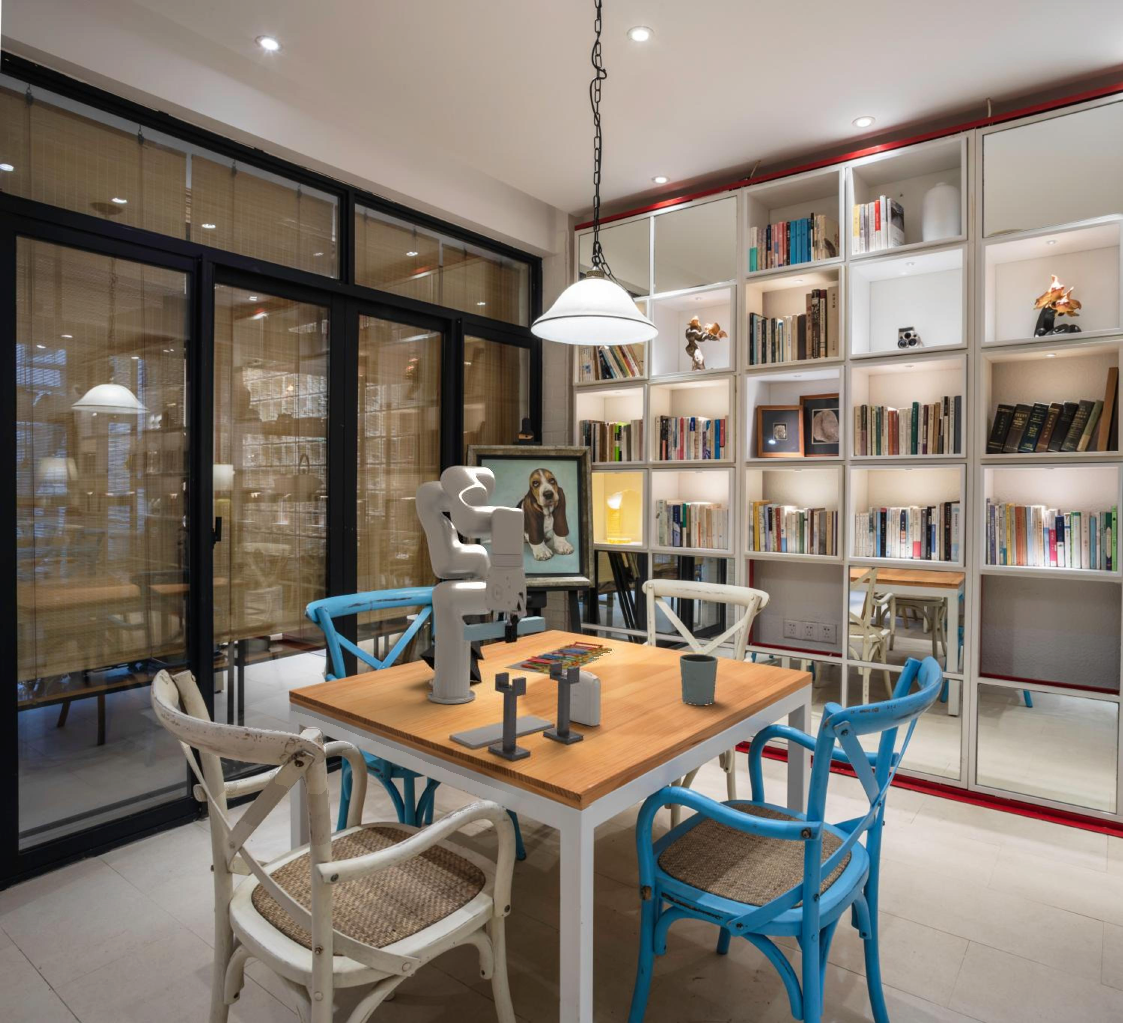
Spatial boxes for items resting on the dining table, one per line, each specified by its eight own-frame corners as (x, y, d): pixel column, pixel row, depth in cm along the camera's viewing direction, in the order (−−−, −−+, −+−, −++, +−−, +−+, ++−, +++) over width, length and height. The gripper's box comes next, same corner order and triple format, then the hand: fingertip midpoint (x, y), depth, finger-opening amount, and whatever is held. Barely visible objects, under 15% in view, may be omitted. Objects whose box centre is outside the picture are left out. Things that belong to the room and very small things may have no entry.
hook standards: (488, 751, 158) (489, 674, 158) (558, 731, 173) (560, 660, 173) (512, 761, 153) (513, 681, 152) (583, 739, 167) (585, 666, 167)
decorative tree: (478, 695, 215) (511, 590, 233) (458, 674, 204) (494, 565, 222) (434, 689, 220) (470, 586, 239) (412, 668, 209) (451, 563, 227)
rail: (463, 639, 164) (463, 625, 164) (536, 628, 179) (537, 616, 179) (471, 641, 162) (471, 627, 162) (545, 630, 177) (545, 618, 177)
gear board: (557, 669, 227) (505, 661, 236) (557, 677, 227) (505, 669, 236) (619, 645, 266) (571, 639, 276) (619, 652, 266) (571, 646, 276)
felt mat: (449, 738, 166) (449, 735, 166) (529, 718, 183) (529, 714, 183) (473, 749, 160) (473, 745, 159) (554, 726, 176) (554, 723, 176)
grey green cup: (721, 700, 203) (722, 656, 203) (709, 709, 194) (710, 663, 194) (686, 694, 208) (687, 652, 208) (673, 702, 199) (674, 658, 199)
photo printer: (559, 718, 183) (560, 668, 183) (571, 715, 186) (572, 666, 186) (591, 728, 176) (592, 676, 176) (603, 724, 179) (604, 673, 179)
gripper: (472, 559, 174) (471, 638, 174) (517, 564, 162) (516, 648, 162) (497, 558, 179) (496, 634, 179) (543, 563, 167) (541, 644, 167)
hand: (505, 640), depth 171 cm, fingers closed on rail, 3 cm apart
